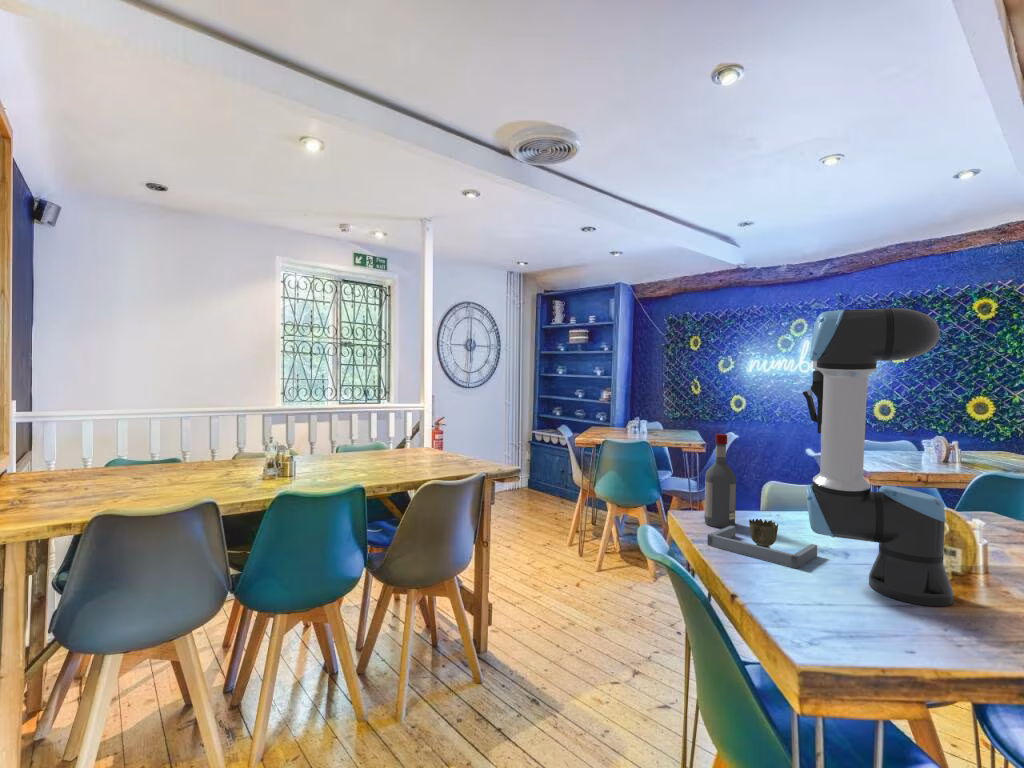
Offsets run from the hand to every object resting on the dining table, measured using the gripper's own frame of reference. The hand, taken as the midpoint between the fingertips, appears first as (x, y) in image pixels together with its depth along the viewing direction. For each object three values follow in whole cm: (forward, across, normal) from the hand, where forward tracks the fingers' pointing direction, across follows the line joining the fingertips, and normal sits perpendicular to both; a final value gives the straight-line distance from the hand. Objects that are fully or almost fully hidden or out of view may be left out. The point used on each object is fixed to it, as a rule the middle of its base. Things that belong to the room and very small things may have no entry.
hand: (824, 444), depth 160 cm
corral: (+28, +6, +32) cm, 43 cm away
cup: (+29, +6, +32) cm, 43 cm away
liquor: (+29, +26, +16) cm, 42 cm away
